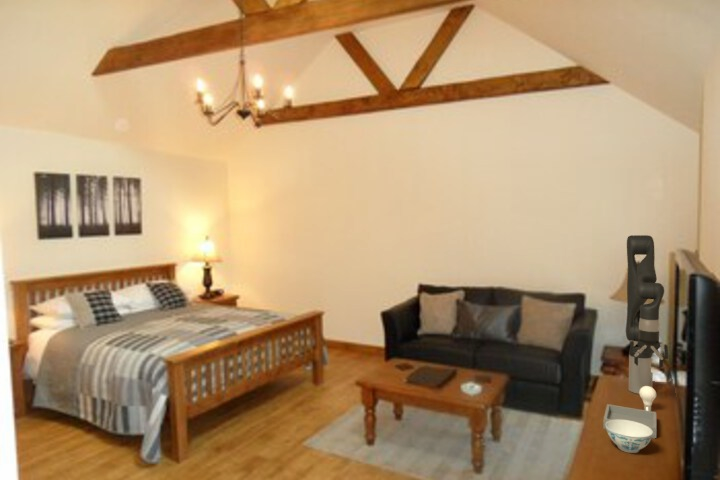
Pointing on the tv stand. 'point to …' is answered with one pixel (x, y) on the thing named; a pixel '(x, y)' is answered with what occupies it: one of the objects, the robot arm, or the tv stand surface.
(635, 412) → the tray
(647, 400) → the lightbulb
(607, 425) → the chinaware
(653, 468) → the tv stand surface
